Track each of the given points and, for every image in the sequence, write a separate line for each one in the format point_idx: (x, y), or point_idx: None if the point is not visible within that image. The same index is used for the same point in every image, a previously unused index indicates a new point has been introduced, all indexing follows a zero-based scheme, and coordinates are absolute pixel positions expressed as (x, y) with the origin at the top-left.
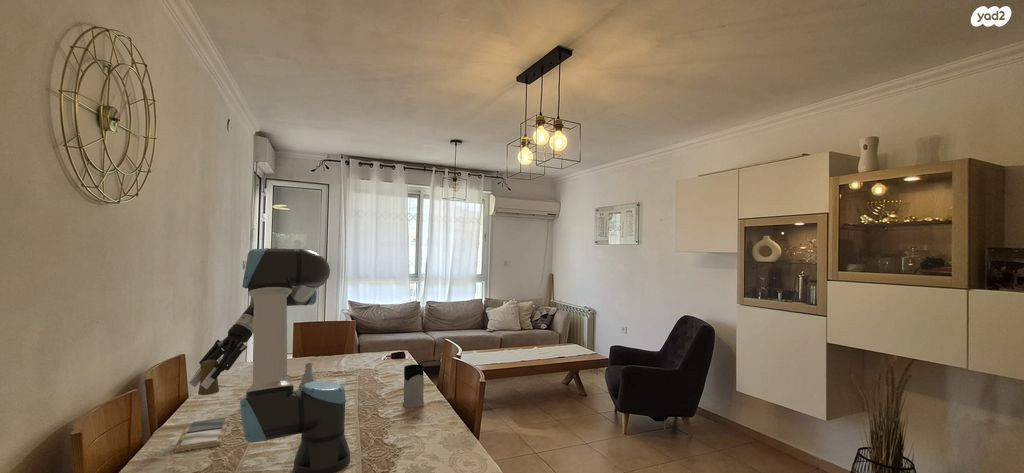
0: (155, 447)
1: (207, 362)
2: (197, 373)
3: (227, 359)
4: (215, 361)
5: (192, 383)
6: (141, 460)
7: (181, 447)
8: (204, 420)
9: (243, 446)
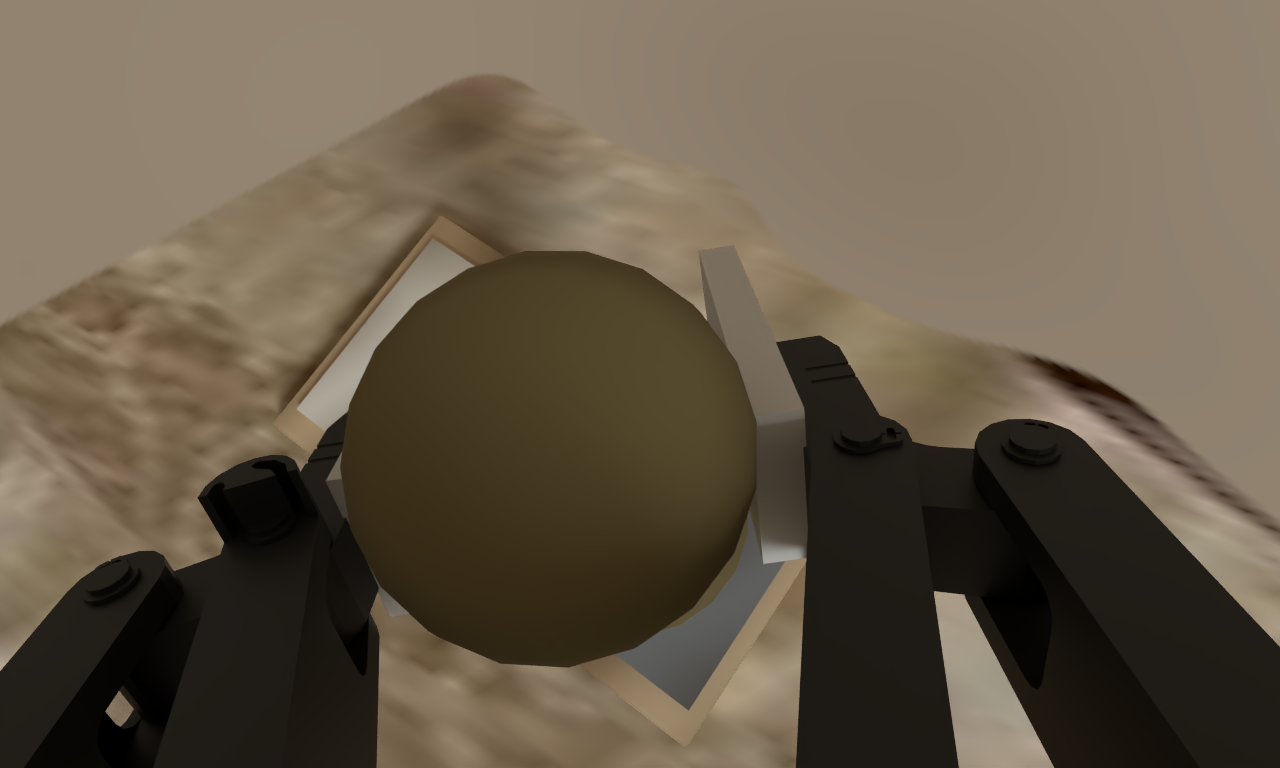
0: (637, 199)
1: (419, 316)
2: (720, 321)
3: (2, 746)
4: (362, 518)
5: (704, 297)
6: (512, 94)
7: (418, 244)
8: (773, 566)
9: (134, 496)
